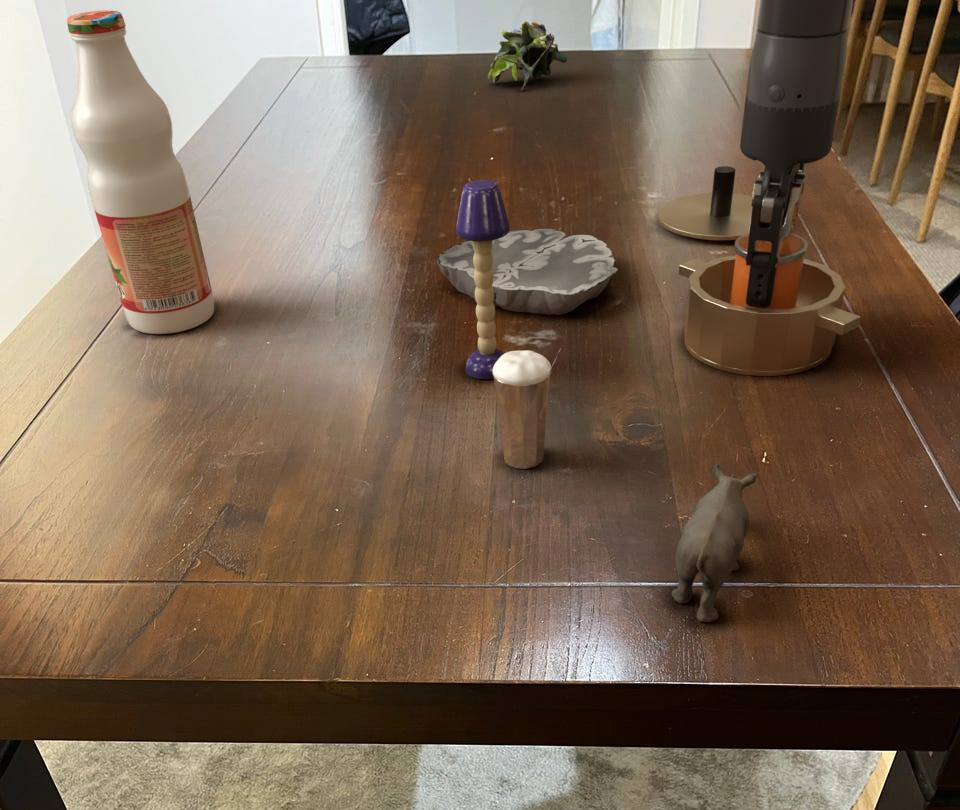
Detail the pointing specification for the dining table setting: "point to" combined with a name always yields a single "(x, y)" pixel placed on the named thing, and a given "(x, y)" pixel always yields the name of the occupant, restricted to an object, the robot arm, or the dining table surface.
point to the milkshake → (522, 405)
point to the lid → (710, 211)
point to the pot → (763, 321)
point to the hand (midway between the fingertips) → (764, 289)
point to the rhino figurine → (712, 541)
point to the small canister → (785, 272)
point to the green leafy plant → (526, 53)
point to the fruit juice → (137, 183)
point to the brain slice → (536, 270)
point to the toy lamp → (483, 265)
